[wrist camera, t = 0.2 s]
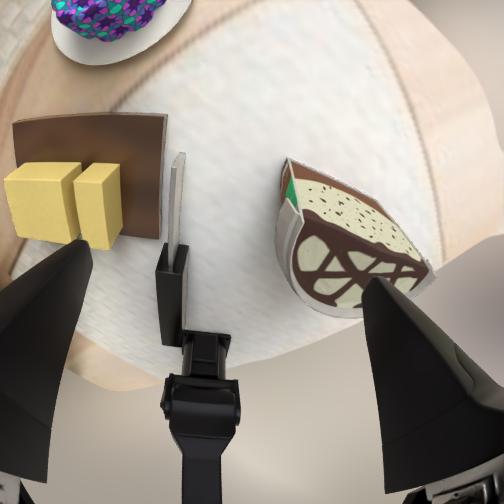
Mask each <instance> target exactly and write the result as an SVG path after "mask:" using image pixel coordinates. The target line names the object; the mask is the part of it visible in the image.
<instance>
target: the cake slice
mask: <svg viewBox="0 0 504 504" xmlns="http://www.w3.org/2000/svg"><path fill="white" fill-rule="evenodd" d="M281 196H282V208H281V210H280V212H279V216H278V220H277V224H276V230H275V248H276V255H277V258H278V261H279V264H280V267H281V269H282V271H283V273H284V275H285V277H286V279H287V281H288V282H289V284H290V286H291V287H292V289H293V291H294V292H295V293H296V294H297V295H298V296H299V297H300V298H301V299H302V300H303V301H304V302H305V303H306V304H307V305H308V306H310V307H311V308H312V309H314V310H315V311H318V312H320V313H322V314H324V315H328V316H332V317H337V318H363V310H362V303H361V295H362V292H363V290H364V289H365V287H366V286H367V284H368V282H369V281H370V279H371V278H372V277H373V276H381V277H385V278H386V279H387V280H388V281H389V282H391V283H392V284H393V285H394V286H395V287H396V288H397V289H398V290H400V291H401V292H402V293H403V294H404V295H405V296H406V297H407V298H409V299H410V300H411V299H413V298H414V297H416V296H417V295H419V294H420V293H421V292H423V291H424V290H425V289H426V288H427V287H428V286H429V285H431V283H432V282H433V281H434V280H435V279H436V278H437V276H436V274H435V271H434V269H433V267H432V266H431V264H430V262H429V260H425V259H424V257H423V256H422V255H421V253H420V252H419V251H418V250H417V248H416V247H415V246H414V244H413V243H412V242H411V240H410V239H409V238H408V237H407V235H406V234H405V233H404V232H403V230H402V229H401V228H400V227H399V226H398V224H397V223H396V222H395V221H394V220H393V218H392V217H391V216H390V215H389V214H388V213H387V211H386V210H385V209H384V208H383V207H382V206H381V205H380V204H379V202H378V201H377V200H376V199H374V198H372V197H370V196H369V195H367V194H365V193H363V192H361V191H359V190H357V189H355V188H353V187H351V186H349V185H347V184H345V183H343V182H341V181H339V180H337V179H335V178H333V177H331V176H329V175H327V174H324V173H322V172H320V171H318V170H316V169H314V168H311V167H309V166H307V165H305V164H302V163H300V162H298V161H295V160H293V159H291V158H288V157H287V159H286V161H285V164H284V166H283V169H282V176H281Z"/></svg>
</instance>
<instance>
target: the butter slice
mask: <svg viewBox="0 0 504 504" xmlns="http://www.w3.org/2000/svg"><path fill="white" fill-rule="evenodd" d="M73 183H74V191H75V199H76V205H77V212H78V218H79V223H80V229H81V234H82V239H83V240H86V241H88V243H89V247H90V248H95V249H101V250H108V251H110V249H111V247H112V245H113V244H114V242H115V240H116V238H117V236H118V234H119V233H120V231H121V229H122V227H123V221H122V207H121V190H120V164H110V163H93V164H92V165H90V166H89V167H88V168H87V169H86V170H85V171H84V172H83V173H81V174H80V175H79V176H78V177H77V178H76V179H75V180H74V181H73Z"/></svg>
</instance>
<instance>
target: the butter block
mask: <svg viewBox="0 0 504 504" xmlns="http://www.w3.org/2000/svg"><path fill="white" fill-rule="evenodd" d="M81 173H82V166H81V162H32V163H24V164H23V165H21V166H20V167H19V168H17V169H16V170H15V171H13V172H12V173H11V174H10V175H8V176H7V177H6V178H5V179H3V181H4V186H5V191H6V195H7V199H8V203H9V207H10V211H11V215H12V218H13V222H14V225H15V229H16V232H17V235H18V237H24V238H30V239H36V240H42V241H49V242H55V243H62V244H68V243H70V242H72V241H73V240H75V239H77V238H78V236H79V235H80V233H81V229H80V223H79V218H78V212H77V205H76V199H75V191H74V183H73V181H74V180H75V179H76V178H77V177H78V176H79V175H80V174H81Z"/></svg>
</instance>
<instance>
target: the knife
mask: <svg viewBox="0 0 504 504" xmlns="http://www.w3.org/2000/svg"><path fill="white" fill-rule="evenodd" d="M184 160H185V153H183V152H180V154H179V156H178V157H177V159H176V160H175V162H174V164H173V165H172V167H171V182H170V201H169V232H168V243H164V245H163V248H162V252H161V255H160V258H159V261H158V264H157V267H156V271H155V275H156V290H157V302H158V313H159V322H160V331H161V339H162V345H166V346H173V347H180V348H182V346H183V338H184V330H185V322H186V292H187V270H188V253H189V246H188V245H180V244H179V225H180V208H181V194H182V181H183V170H184Z"/></svg>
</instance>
